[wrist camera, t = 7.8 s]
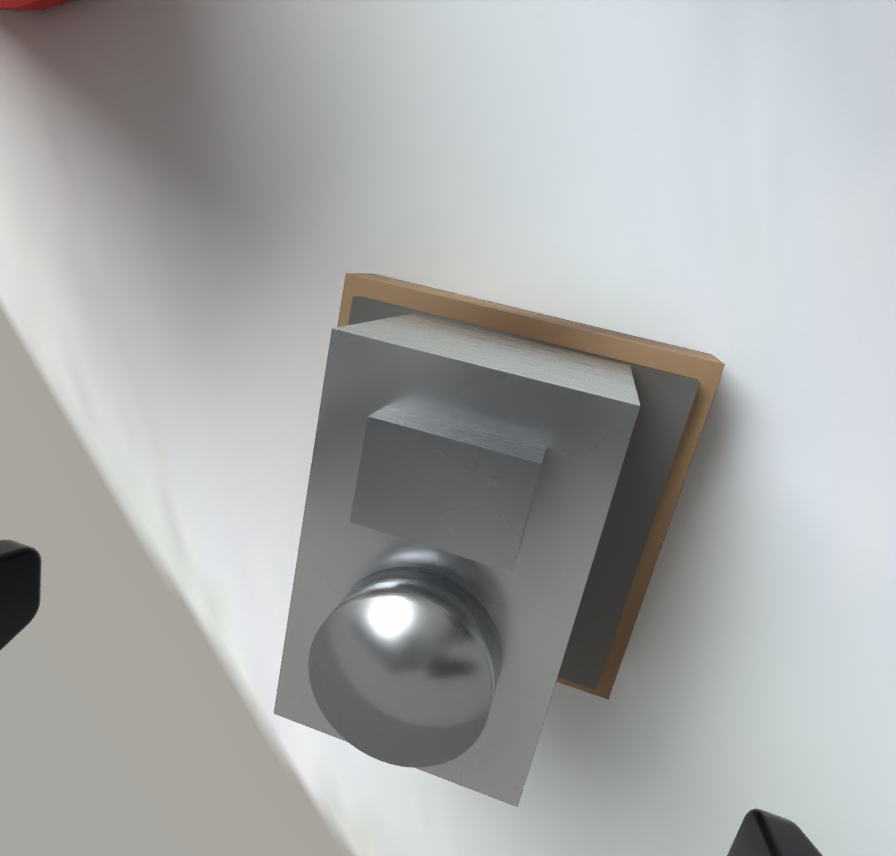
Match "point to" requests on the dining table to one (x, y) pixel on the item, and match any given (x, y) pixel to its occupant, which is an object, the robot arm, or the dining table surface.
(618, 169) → the dining table surface
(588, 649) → the stand
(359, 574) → the housing
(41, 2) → the canned food
